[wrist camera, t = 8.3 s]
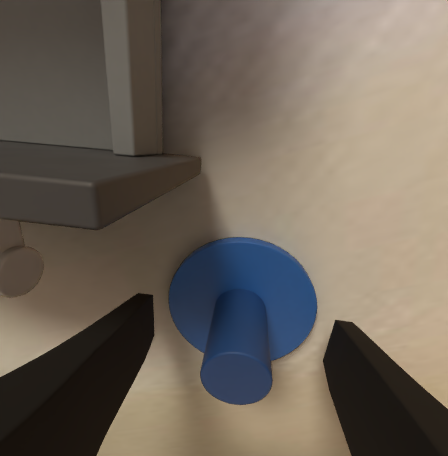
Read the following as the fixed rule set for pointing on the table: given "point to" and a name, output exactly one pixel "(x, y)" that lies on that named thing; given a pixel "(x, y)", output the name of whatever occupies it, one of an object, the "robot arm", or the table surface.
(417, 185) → the table surface
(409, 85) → the table surface
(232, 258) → the lid
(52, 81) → the drawer
